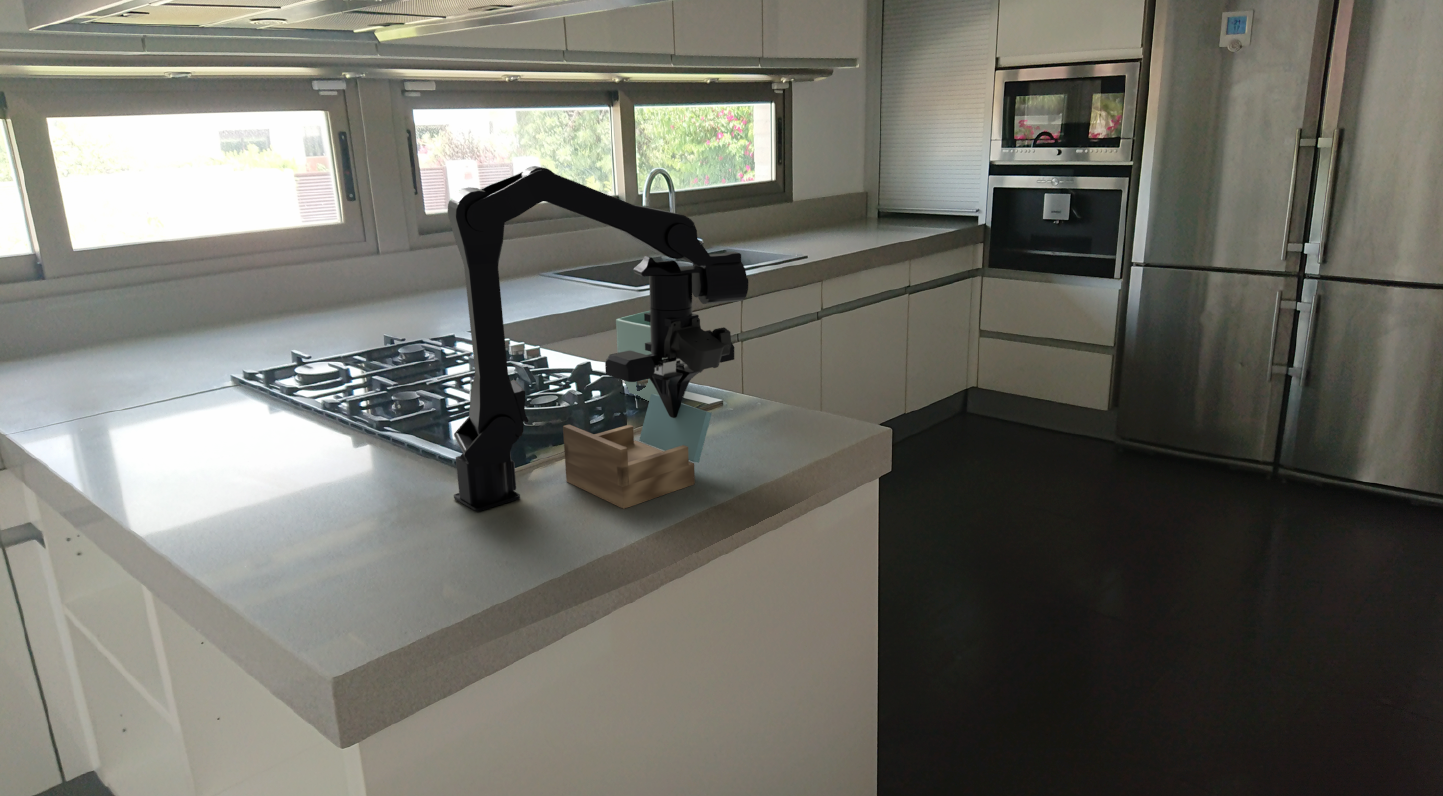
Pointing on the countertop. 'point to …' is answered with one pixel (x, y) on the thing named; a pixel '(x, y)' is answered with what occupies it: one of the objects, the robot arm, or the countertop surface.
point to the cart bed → (623, 466)
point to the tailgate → (675, 428)
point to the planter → (635, 345)
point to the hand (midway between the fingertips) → (673, 417)
